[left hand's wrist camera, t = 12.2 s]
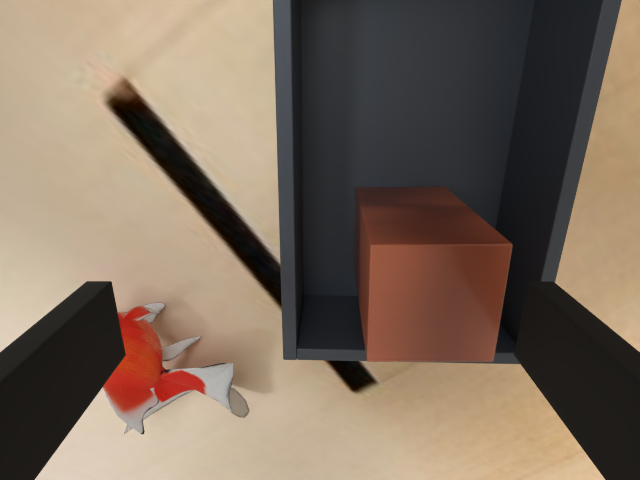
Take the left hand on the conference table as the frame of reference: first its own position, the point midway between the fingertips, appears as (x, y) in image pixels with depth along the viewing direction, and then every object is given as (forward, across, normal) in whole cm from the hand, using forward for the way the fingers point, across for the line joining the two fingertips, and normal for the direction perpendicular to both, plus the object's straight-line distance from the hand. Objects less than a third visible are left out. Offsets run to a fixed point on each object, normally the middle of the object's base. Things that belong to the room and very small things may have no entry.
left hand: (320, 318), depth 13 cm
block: (+9, +4, 0) cm, 10 cm away
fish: (+19, -12, -14) cm, 27 cm away
